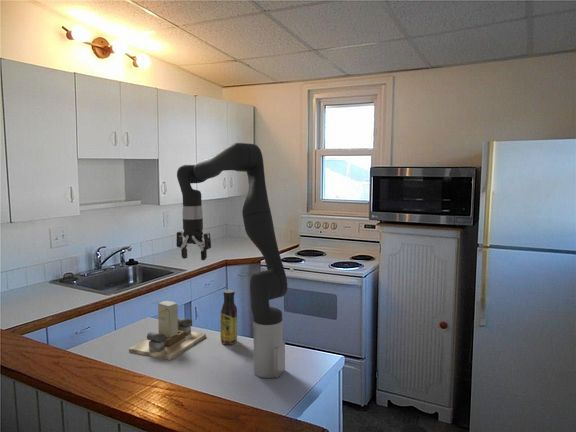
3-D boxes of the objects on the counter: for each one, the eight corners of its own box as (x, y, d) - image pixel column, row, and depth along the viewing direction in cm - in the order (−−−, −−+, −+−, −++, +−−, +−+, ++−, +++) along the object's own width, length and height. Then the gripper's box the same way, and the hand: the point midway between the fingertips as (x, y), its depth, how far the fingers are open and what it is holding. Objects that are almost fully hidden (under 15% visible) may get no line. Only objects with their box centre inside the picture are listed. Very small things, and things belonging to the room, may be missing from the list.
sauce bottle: (217, 342, 169) (215, 290, 167) (230, 337, 174) (229, 287, 171) (227, 347, 165) (226, 294, 162) (241, 342, 169) (240, 290, 167)
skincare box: (158, 334, 167) (156, 302, 166) (167, 330, 171) (166, 299, 169) (169, 338, 164) (168, 305, 162) (179, 334, 167) (177, 302, 166)
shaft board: (205, 336, 174) (205, 319, 173) (170, 359, 154) (169, 339, 153) (168, 330, 181) (167, 313, 180) (128, 351, 161) (127, 332, 160)
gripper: (214, 217, 172) (215, 258, 174) (183, 215, 178) (184, 255, 180) (202, 219, 165) (204, 262, 167) (171, 217, 171) (172, 259, 173)
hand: (194, 259), depth 173 cm, fingers open, 8 cm apart
